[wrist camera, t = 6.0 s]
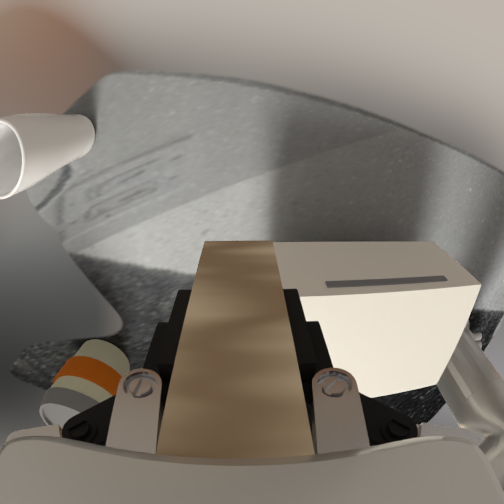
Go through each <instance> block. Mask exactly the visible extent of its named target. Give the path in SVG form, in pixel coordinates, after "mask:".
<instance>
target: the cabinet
mask: <svg viewBox="0 0 504 504" xmlns="http://www.w3.org/2000/svg"><path fill="white" fill-rule="evenodd" d="M273 245H274V250H275V255H276V259H277V264H278V269H279V273H280V278H281V283H282V288H283V289H297V290H298V293H299V297H300V300H301V304H302V307H303V311H304V315H305V318H306V321H318V322H319V324H320V326H321V329H322V333H323V336H324V339H325V342H326V345H327V348H328V352H329V355H330V358H331V361H332V364H333V368H340V369H343V370H346V371H347V372H349V373H351V374H352V376H353V377H354V378H355V380H356V382H357V386H358V390H359V392H360V393H362V394H364V395H366V396H368V397H370V398H372V397H378V396H384V395H389V394H395V393H400V392H404V391H409V390H414V389H418V388H422V387H427V386H431V385H435V384H437V382H438V381H439V379H440V377H441V375H442V373H443V371H444V369H445V368H446V366H447V364H448V362H449V360H450V358H451V356H452V354H453V352H454V350H455V348H456V345H457V343H458V341H459V339H460V337H461V335H462V332H463V330H464V328H465V326H466V323H467V321H468V319H469V316H470V314H471V311H472V309H473V306H474V304H475V301H476V298H477V296H478V293H479V290H480V288H481V285H482V284H481V283H480V282H479V281H478V280H477V279H475V278H474V277H473V276H472V275H471V274H470V273H469V272H468V271H467V270H466V269H465V268H464V267H462V266H461V265H460V264H459V263H458V262H457V261H456V260H455V259H453V258H452V257H451V256H450V255H449V254H448V253H447V252H445V251H444V250H443V249H442V248H441V247H440V246H438V245H437V244H436V243H435V242H273Z"/></svg>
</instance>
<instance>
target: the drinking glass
mask: <svg viewBox="0 0 504 504" xmlns="http://www.w3.org/2000/svg"><path fill="white" fill-rule="evenodd" d="M94 140H95V130H94V126H93V124H92V122H91V121H90V120H89V119H88V118H87V117H86V116H84V115H80V114H73V115H62V114H19V115H12V116H7V117H3V118H0V199H5V198H8V197H10V196H12V195H14V194H17V193H19V192H21V191H23V190H25V189H27V188H29V187H31V186H33V185H35V184H36V183H38V182H40V181H41V180H43V179H44V178H46V177H48V176H49V175H51V174H52V173H54V172H55V171H57V170H58V169H60V168H62V167H63V166H65V165H67V164H68V163H70V162H72V161H74V160H75V159H78V158H80V157H82V156H84V155H86V154H87V153H88V152H89V151H90V149H91V148H92V146H93V143H94Z"/></svg>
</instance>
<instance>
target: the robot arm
mask: <svg viewBox="0 0 504 504" xmlns="http://www.w3.org/2000/svg"><path fill="white" fill-rule="evenodd" d="M191 291H192V290H179V291H178V293H177V297H176V300H175V303H174V306H173V309H172V313H171V316H170V319H169V322H159V323H158V325H157V327H156V330H155V333H154V336H153V339H152V342H151V345H150V348H149V351H148V354H147V357H146V360H145V363H144V366H143V368H142V369H135V370H132V371H130V372H128V373H126V374H125V375H124V376H123V377H122V378H121V380H120V382H119V384H118V389H117V393H116V394H115V395H114V396H112V397H110V398H108V399H106V400H104V401H102V402H100V403H98V404H96V405H95V406H93V407H91V408H89V409H87V410H85V411H83V412H81V413H79V414H77V415H75V416H73V417H71V418H70V419H69V420H67V422H66V423H65V424H64V426H60V425H59V424H54V425H49V426H43V427H38V428H31V429H25V430H18V431H15V432H13V433H11V434H10V435H9V436H8V438H7V440H6V443H5V444H4V445H3V446H2V448H1V449H0V504H504V380H503V379H502V377H501V376H500V374H499V373H498V372H497V370H496V369H495V367H494V366H493V365H492V363H491V362H490V360H489V359H488V358H487V356H486V355H485V354H484V352H483V351H482V350H481V348H482V343H481V341H477V340H481V339H482V334H481V333H476V334H473V333H472V332H471V331H470V330H469V320H468V321H467V323H466V326H465V328H464V330H463V332H462V335H461V337H460V339H459V341H458V343H457V345H456V348H455V350H454V352H453V354H452V356H451V358H450V360H449V362H448V364H447V366H446V368H445V369H444V371H443V373H442V375H441V377H440V379H439V381H438V382H437V384H436V385H437V386H438V388H439V390H440V392H441V394H442V396H443V397H444V399H445V401H446V403H447V405H448V407H449V409H450V411H451V412H452V414H453V416H454V418H455V420H456V422H457V424H458V426H459V427H460V428H455V427H448V426H442V425H435V424H429V423H423V422H422V423H421V425H417V424H416V423H415V422H414V421H413V420H412V419H411V418H410V417H408V416H406V415H404V414H402V413H400V412H398V411H396V410H394V409H392V408H390V407H388V406H386V405H384V404H382V403H380V402H378V401H376V400H374V399H372V398H370V397H368V396H366V395H364V394H362V393H360V392H359V390H358V386H357V382H356V380H355V378H354V377H353V376H352V374H351V373H349V372H347V371H346V370H343V369H340V368H333V364H332V361H331V358H330V355H329V352H328V348H327V345H326V342H325V339H324V336H323V333H322V329H321V326H320V324H319V322H318V321H306V318H305V315H304V311H303V307H302V304H301V300H300V297H299V293H298V290H297V289H283V292H284V297H285V302H286V307H287V312H288V317H289V322H290V326H291V331H292V336H293V341H294V346H295V351H296V356H297V362H298V367H299V372H300V377H301V382H302V387H303V393H304V398H305V403H306V409H307V414H308V420H309V425H310V430H311V436H312V442H313V447H314V453H315V455H305V456H293V457H278V458H254V459H221V458H197V457H182V456H170V455H161V454H156V450H157V445H158V440H159V434H160V429H161V424H162V419H163V414H164V409H165V404H166V399H167V394H168V390H169V385H170V380H171V376H172V371H173V367H174V362H175V358H176V353H177V349H178V345H179V341H180V336H181V332H182V328H183V324H184V320H185V315H186V311H187V307H188V303H189V299H190V295H191ZM476 435H479V436H484V437H485V439H484V440H483V442H482V443H480V444H479V441H478V437H477V436H476Z"/></svg>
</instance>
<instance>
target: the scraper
mask: <svg viewBox="0 0 504 504" xmlns="http://www.w3.org/2000/svg"><path fill="white" fill-rule="evenodd" d="M156 454H161V455H170V456H182V457H197V458H221V459H254V458H278V457H293V456H305V455H315V453H314V447H313V442H312V436H311V430H310V425H309V420H308V414H307V409H306V403H305V398H304V393H303V387H302V382H301V377H300V372H299V367H298V362H297V356H296V351H295V346H294V341H293V336H292V331H291V326H290V322H289V317H288V312H287V307H286V302H285V297H284V292H283V288H282V283H281V278H280V273H279V269H278V264H277V259H276V255H275V250H274V245H273V241H205V242H204V246H203V250H202V253H201V257H200V261H199V264H198V268H197V272H196V276H195V280H194V284H193V287H192V291H191V295H190V299H189V303H188V307H187V311H186V315H185V320H184V324H183V328H182V332H181V336H180V341H179V345H178V349H177V353H176V358H175V362H174V367H173V371H172V376H171V380H170V385H169V390H168V394H167V399H166V404H165V409H164V414H163V419H162V424H161V429H160V434H159V440H158V445H157V450H156Z"/></svg>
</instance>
